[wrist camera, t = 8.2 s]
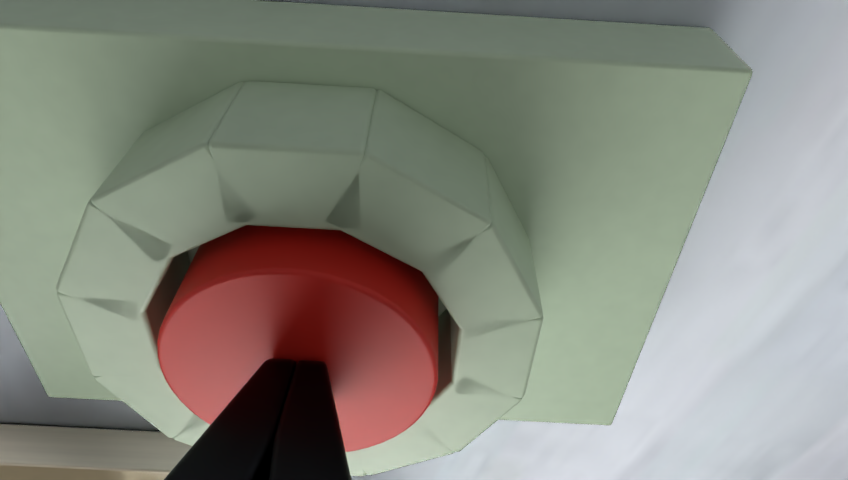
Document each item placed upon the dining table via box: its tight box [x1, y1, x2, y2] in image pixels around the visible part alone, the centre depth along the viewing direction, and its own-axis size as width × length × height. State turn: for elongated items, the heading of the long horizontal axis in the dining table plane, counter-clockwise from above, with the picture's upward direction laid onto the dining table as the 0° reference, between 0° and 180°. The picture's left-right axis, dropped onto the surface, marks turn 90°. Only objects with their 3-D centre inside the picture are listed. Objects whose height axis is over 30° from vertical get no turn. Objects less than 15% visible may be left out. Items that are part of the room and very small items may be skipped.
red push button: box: [157, 225, 439, 452], centre depth 10 cm, size 4×4×2 cm
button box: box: [0, 0, 752, 476], centre depth 11 cm, size 12×8×4 cm, turn 87°
